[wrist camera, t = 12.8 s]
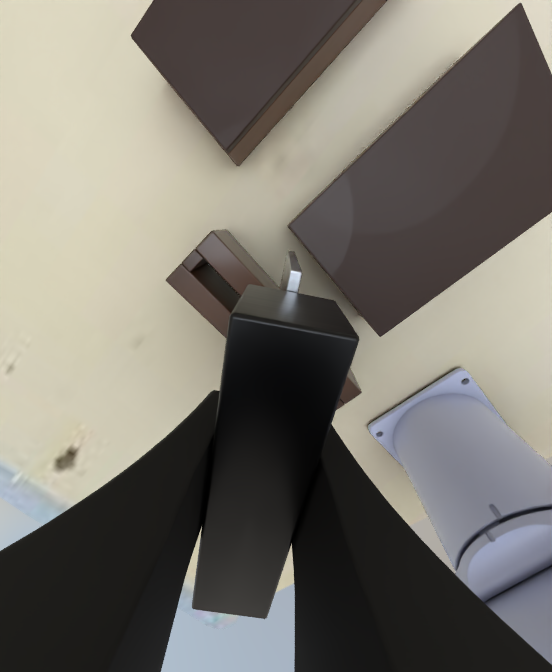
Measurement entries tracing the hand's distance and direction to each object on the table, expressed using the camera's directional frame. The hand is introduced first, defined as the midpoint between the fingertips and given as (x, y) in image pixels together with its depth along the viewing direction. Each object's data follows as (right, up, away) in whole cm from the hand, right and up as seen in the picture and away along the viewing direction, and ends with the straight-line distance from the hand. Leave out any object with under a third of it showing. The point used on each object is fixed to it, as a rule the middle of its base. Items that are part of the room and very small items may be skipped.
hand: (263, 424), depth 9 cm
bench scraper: (0, +2, +4) cm, 5 cm away
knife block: (0, +4, +9) cm, 10 cm away
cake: (+8, +10, +7) cm, 14 cm away
